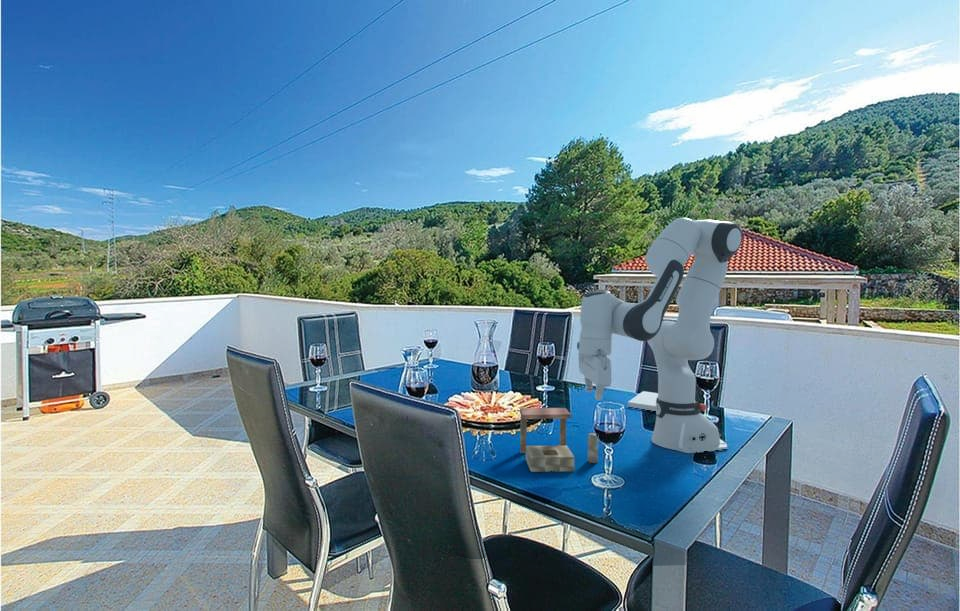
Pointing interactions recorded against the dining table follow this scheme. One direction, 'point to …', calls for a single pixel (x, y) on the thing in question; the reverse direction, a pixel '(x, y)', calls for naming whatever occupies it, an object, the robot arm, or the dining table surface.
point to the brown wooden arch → (543, 414)
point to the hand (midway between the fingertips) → (593, 395)
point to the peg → (592, 448)
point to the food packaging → (644, 401)
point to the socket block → (549, 458)
